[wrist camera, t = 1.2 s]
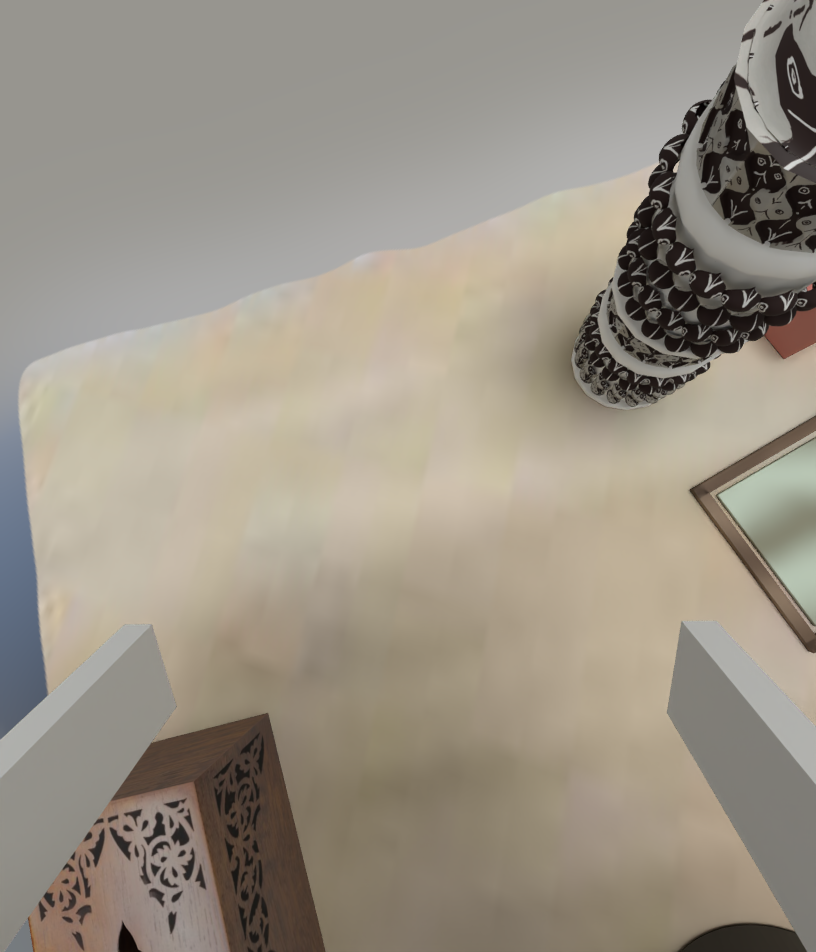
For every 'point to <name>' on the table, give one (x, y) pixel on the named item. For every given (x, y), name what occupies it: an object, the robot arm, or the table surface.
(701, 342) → the decorative candle
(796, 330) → the dome housing
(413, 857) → the table surface
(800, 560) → the frame
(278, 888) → the tissue box cover
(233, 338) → the table surface
